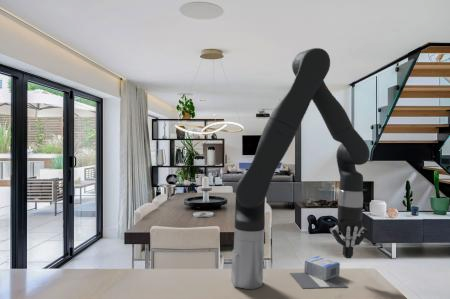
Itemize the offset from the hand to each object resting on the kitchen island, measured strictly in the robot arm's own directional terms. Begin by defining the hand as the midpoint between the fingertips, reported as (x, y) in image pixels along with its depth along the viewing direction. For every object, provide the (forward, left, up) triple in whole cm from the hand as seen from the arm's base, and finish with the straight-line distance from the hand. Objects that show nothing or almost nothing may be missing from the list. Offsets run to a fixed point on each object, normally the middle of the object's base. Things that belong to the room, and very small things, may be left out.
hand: (347, 257), depth 113 cm
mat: (-10, +1, -7) cm, 12 cm away
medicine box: (-4, +1, -5) cm, 7 cm away
